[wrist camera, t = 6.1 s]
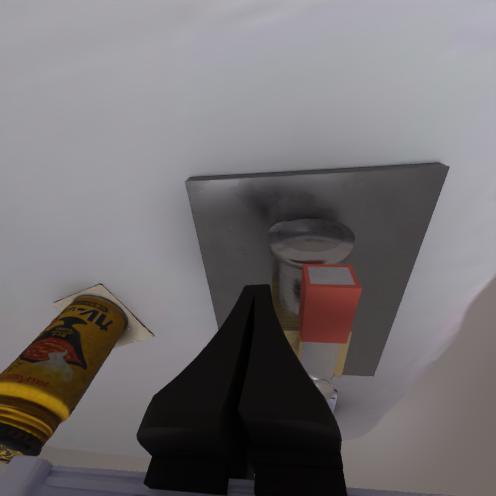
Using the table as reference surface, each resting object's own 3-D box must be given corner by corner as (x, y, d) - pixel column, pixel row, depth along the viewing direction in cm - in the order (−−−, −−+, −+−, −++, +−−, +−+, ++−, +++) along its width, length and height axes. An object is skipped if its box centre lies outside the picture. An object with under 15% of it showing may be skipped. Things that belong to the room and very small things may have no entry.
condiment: (101, 282, 23) (-31, 426, 13) (155, 335, 27) (84, 477, 17) (53, 302, 25) (-90, 436, 15) (109, 347, 29) (24, 479, 19)
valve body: (370, 367, 26) (397, 445, 20) (229, 361, 28) (217, 431, 22) (439, 162, 15) (550, 208, 9) (189, 177, 17) (143, 222, 11)
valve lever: (326, 378, 16) (331, 404, 15) (291, 376, 16) (292, 401, 15) (353, 264, 11) (364, 288, 10) (300, 264, 11) (304, 286, 10)
